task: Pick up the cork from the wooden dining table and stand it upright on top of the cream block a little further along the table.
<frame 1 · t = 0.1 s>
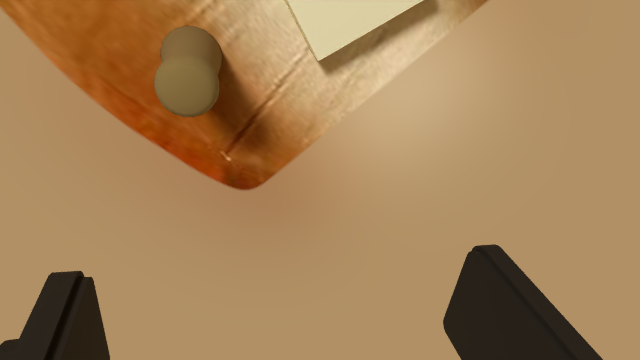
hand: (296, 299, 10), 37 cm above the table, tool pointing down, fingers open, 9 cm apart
cork: (192, 56, 42), on the table
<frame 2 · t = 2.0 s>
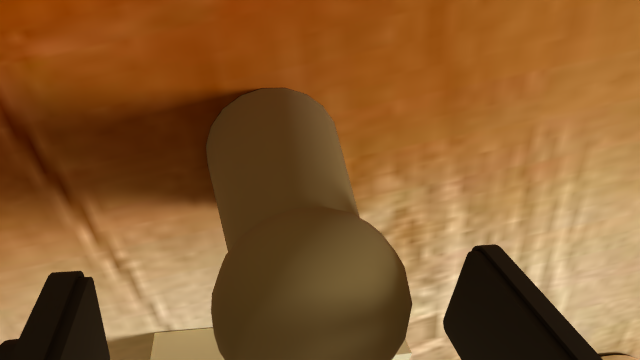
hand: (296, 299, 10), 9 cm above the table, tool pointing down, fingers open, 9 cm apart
cork: (274, 150, 19), on the table
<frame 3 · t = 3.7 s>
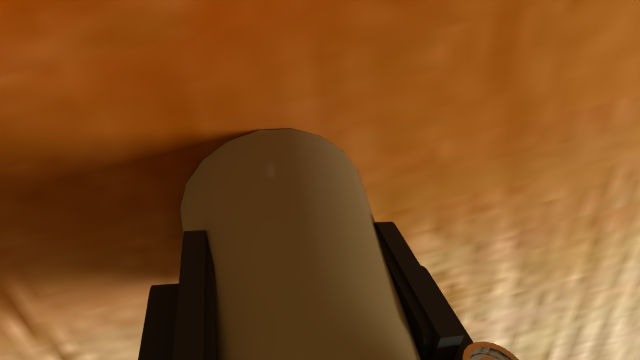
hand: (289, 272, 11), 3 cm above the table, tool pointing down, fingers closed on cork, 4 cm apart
cork: (275, 209, 14), on the table, touching gripper
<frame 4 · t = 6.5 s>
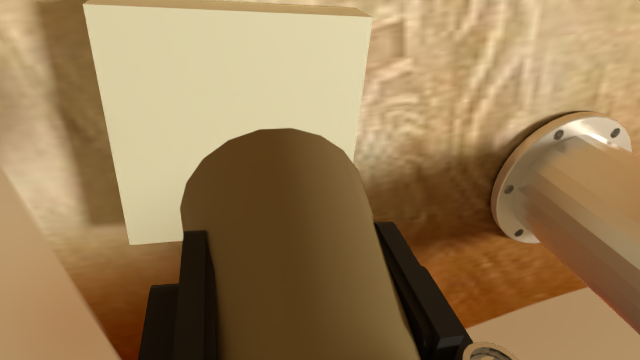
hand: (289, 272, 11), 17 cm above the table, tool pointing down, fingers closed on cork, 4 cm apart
cream block: (238, 119, 27), on the table
cork: (275, 208, 14), point 14 cm above the table, touching gripper
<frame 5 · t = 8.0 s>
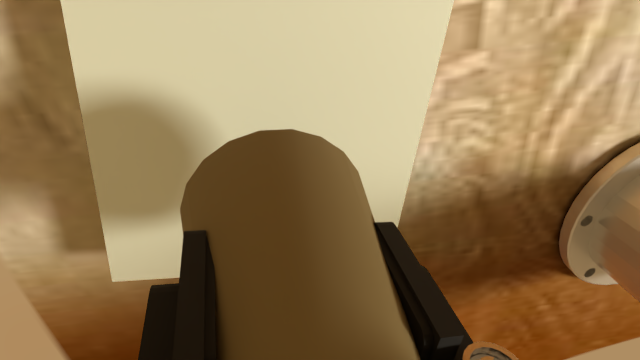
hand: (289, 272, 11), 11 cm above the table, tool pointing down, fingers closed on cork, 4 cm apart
cream block: (261, 122, 20), on the table
cork: (275, 209, 14), point 8 cm above the table, touching gripper
when the fingers open (7 cm above the table, at t = 9.4 s): cork drops 1 cm, resting on cream block.
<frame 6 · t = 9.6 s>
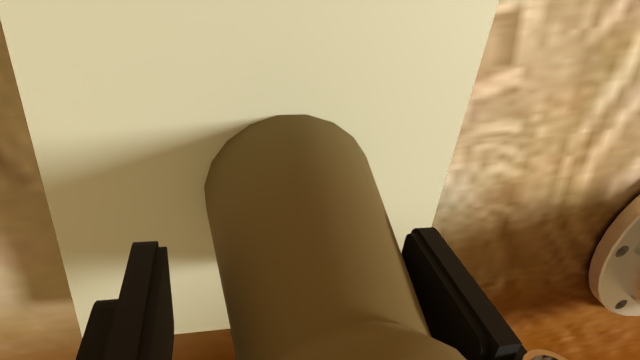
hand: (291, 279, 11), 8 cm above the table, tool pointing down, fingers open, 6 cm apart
cream block: (259, 152, 17), on the table
cork: (289, 189, 15), point 3 cm above the table, touching gripper, cream block
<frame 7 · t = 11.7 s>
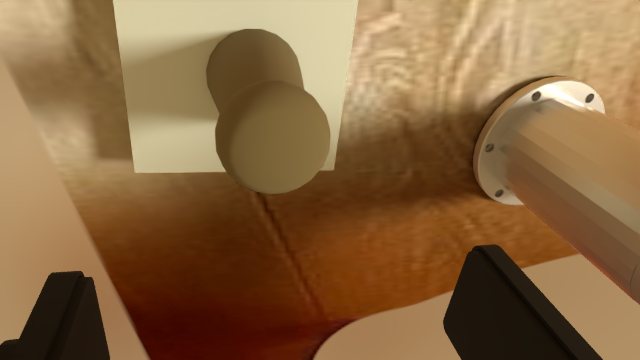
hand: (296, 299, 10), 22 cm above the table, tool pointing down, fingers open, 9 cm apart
cream block: (238, 62, 29), on the table
cork: (254, 76, 27), point 3 cm above the table, touching cream block
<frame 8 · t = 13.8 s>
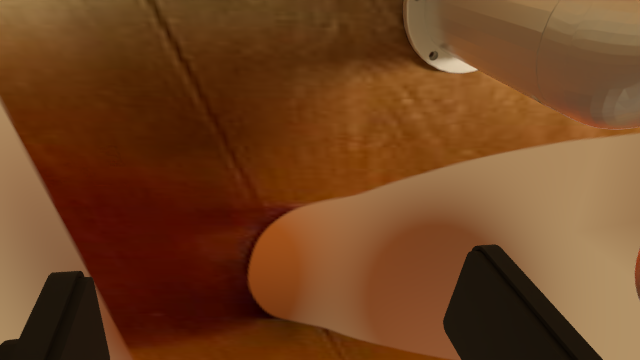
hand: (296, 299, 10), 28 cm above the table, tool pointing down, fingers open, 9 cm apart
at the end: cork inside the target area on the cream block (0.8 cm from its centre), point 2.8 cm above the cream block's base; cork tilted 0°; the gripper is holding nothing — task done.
